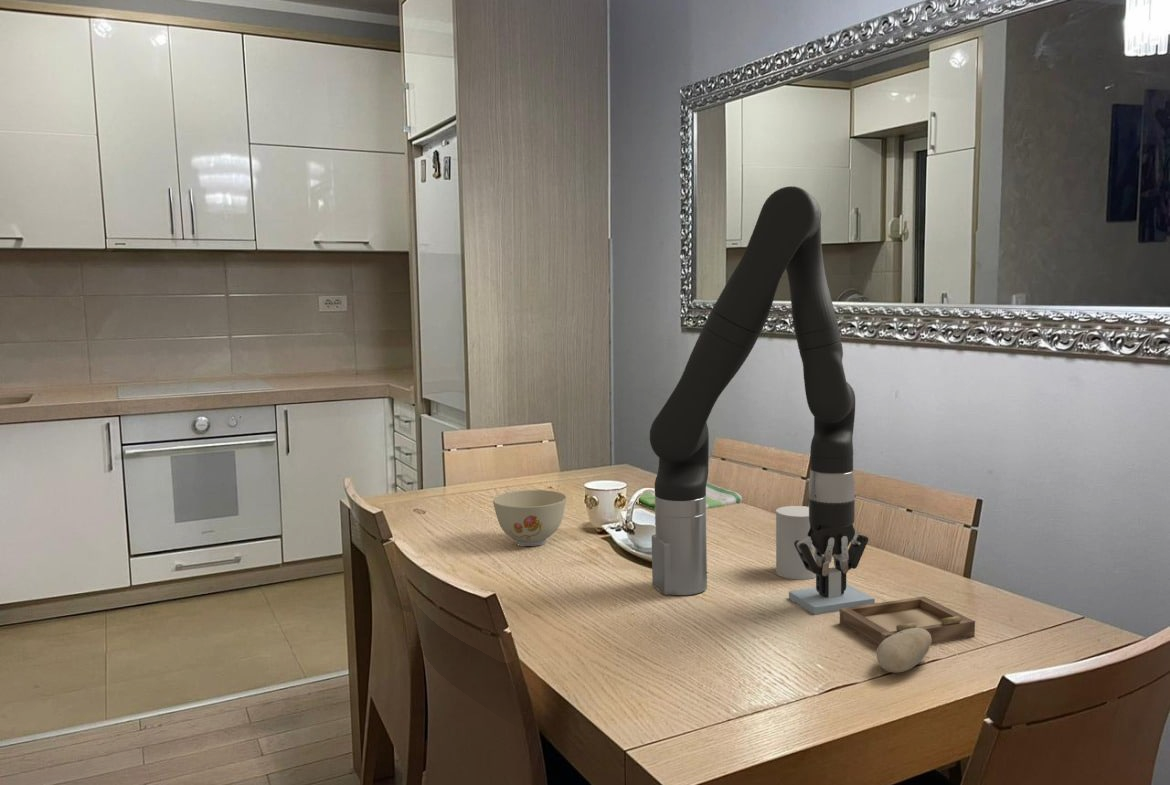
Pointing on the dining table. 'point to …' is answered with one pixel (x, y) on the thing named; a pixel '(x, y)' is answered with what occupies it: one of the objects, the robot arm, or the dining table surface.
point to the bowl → (530, 514)
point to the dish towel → (713, 497)
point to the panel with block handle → (830, 596)
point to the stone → (903, 649)
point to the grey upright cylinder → (792, 541)
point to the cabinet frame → (906, 620)
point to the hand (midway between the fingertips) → (831, 593)
